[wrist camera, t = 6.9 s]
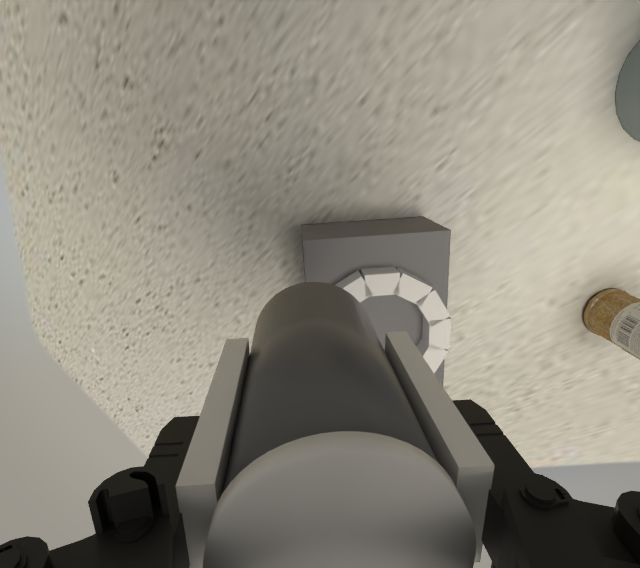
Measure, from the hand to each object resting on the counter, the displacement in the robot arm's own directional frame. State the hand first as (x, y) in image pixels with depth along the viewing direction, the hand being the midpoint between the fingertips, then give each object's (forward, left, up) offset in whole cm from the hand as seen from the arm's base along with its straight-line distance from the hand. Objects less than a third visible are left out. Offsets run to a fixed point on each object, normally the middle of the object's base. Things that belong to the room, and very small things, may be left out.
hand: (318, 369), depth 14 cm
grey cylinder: (0, 0, -3) cm, 3 cm away
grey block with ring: (+5, +5, -19) cm, 20 cm away
